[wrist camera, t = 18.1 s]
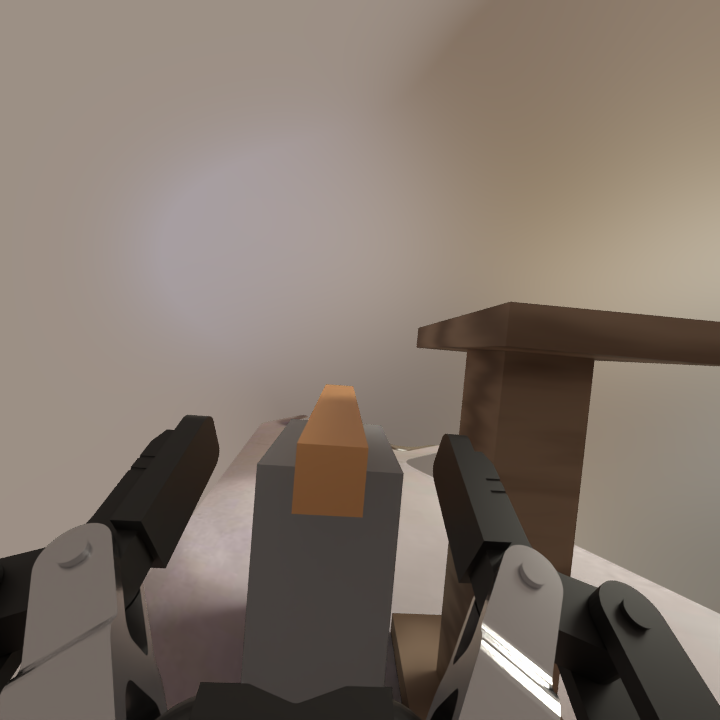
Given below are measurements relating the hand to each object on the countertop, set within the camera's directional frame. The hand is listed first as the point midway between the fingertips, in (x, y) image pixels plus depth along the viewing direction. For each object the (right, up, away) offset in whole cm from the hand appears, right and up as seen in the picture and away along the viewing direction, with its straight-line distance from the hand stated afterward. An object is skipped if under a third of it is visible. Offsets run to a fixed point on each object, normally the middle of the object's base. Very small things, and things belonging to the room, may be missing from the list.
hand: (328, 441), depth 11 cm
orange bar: (-1, -4, +16) cm, 17 cm away
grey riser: (-3, -25, +17) cm, 31 cm away
